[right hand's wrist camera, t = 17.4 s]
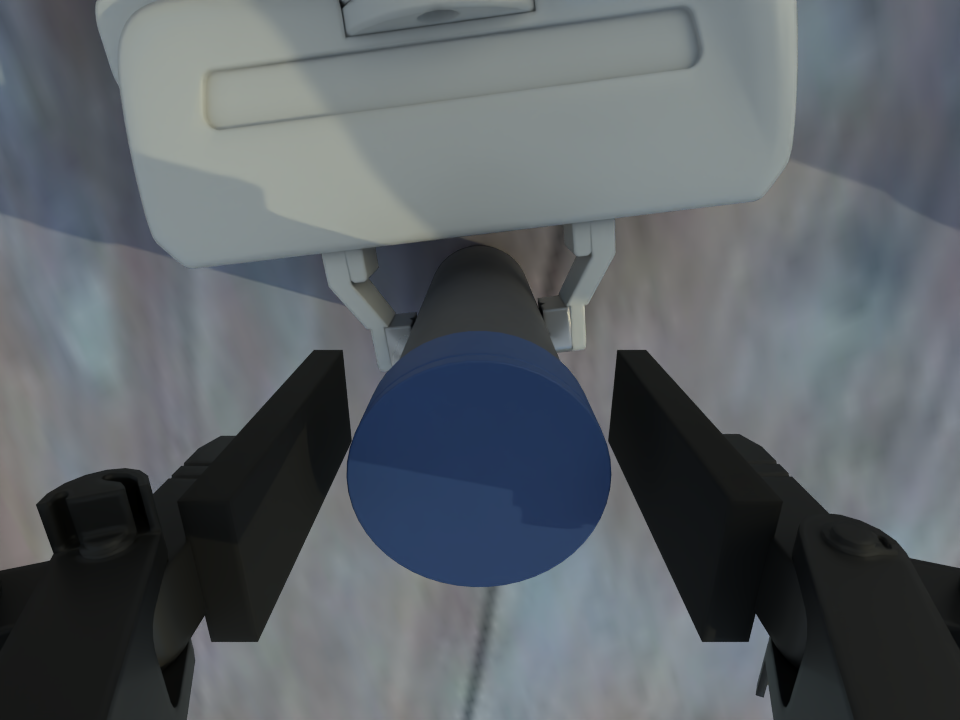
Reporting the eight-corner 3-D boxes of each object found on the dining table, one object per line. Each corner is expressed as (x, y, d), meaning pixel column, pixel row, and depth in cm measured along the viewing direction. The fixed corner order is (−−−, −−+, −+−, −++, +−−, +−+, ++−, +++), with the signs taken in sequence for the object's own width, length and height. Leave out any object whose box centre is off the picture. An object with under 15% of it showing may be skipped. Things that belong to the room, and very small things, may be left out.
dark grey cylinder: (414, 314, 25) (330, 504, 11) (458, 227, 24) (426, 317, 10) (499, 357, 26) (522, 585, 12) (546, 274, 25) (637, 422, 10)
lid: (509, 562, 13) (513, 622, 11) (326, 466, 12) (300, 516, 10) (638, 407, 12) (667, 450, 10) (442, 283, 11) (434, 306, 9)
